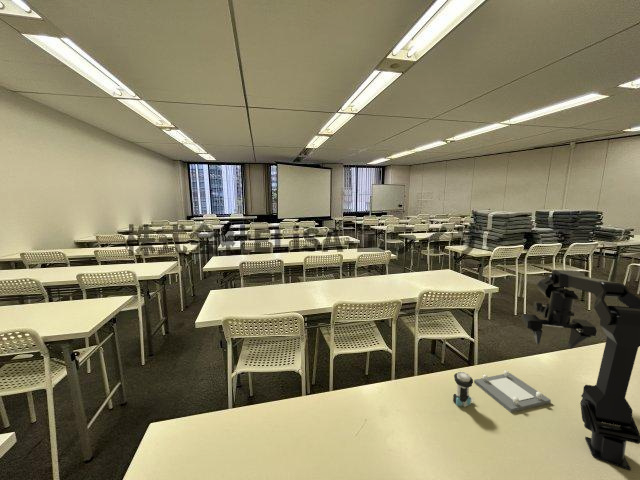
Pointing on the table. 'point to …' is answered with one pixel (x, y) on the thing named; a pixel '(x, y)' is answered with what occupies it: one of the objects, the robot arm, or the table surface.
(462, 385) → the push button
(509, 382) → the mounting base
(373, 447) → the table surface
